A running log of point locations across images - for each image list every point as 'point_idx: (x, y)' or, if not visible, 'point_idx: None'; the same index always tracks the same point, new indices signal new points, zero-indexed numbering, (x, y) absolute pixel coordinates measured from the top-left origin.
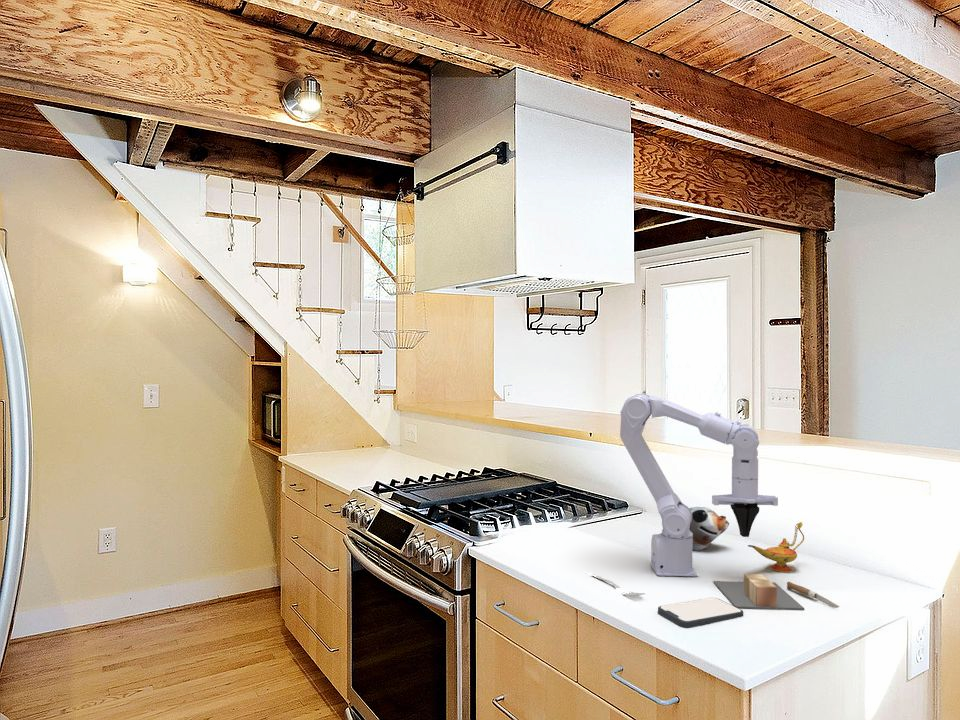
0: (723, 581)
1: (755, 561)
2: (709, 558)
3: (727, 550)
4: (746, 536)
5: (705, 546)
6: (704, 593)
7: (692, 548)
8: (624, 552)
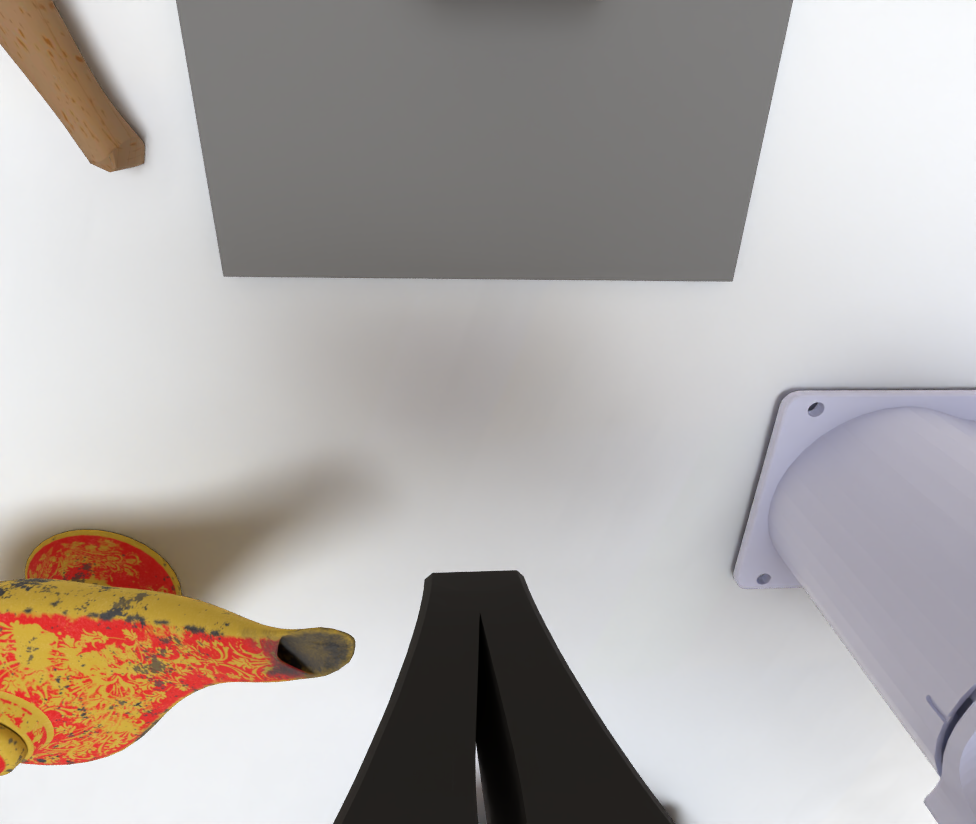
0: (654, 277)
1: (254, 683)
2: None
3: None
4: (469, 573)
5: None
6: (943, 6)
7: None
8: None
